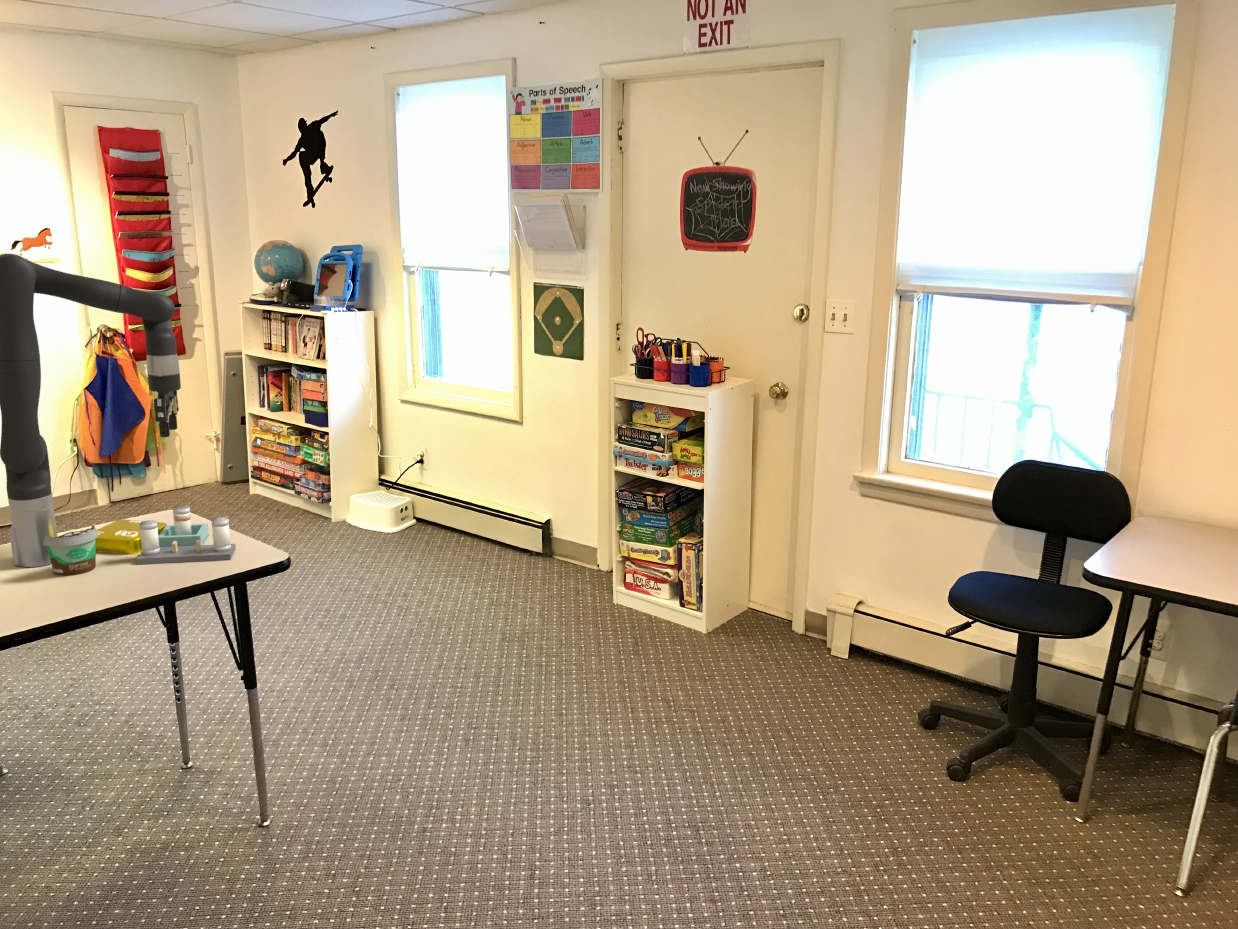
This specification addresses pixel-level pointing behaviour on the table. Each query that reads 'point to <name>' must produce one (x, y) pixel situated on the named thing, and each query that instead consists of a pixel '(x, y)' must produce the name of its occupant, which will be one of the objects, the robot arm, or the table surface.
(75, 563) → the food container
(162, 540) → the tray
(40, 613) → the table surface
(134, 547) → the element tile
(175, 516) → the marked fuse
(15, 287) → the robot arm
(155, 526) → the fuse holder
